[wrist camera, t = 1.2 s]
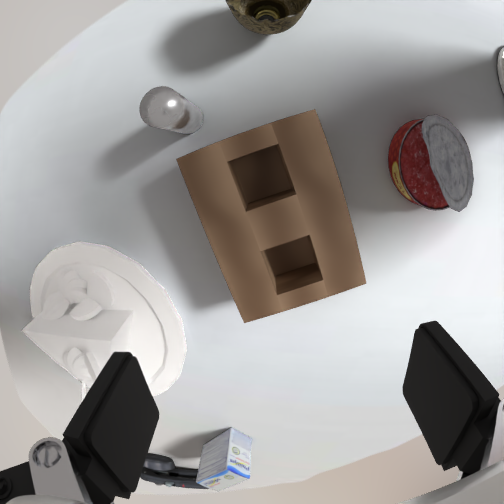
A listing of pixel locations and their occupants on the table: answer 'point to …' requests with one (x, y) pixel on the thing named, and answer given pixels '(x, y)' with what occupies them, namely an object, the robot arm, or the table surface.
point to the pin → (170, 111)
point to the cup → (268, 3)
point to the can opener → (168, 473)
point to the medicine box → (225, 460)
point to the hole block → (275, 215)
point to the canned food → (431, 164)
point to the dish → (104, 315)
